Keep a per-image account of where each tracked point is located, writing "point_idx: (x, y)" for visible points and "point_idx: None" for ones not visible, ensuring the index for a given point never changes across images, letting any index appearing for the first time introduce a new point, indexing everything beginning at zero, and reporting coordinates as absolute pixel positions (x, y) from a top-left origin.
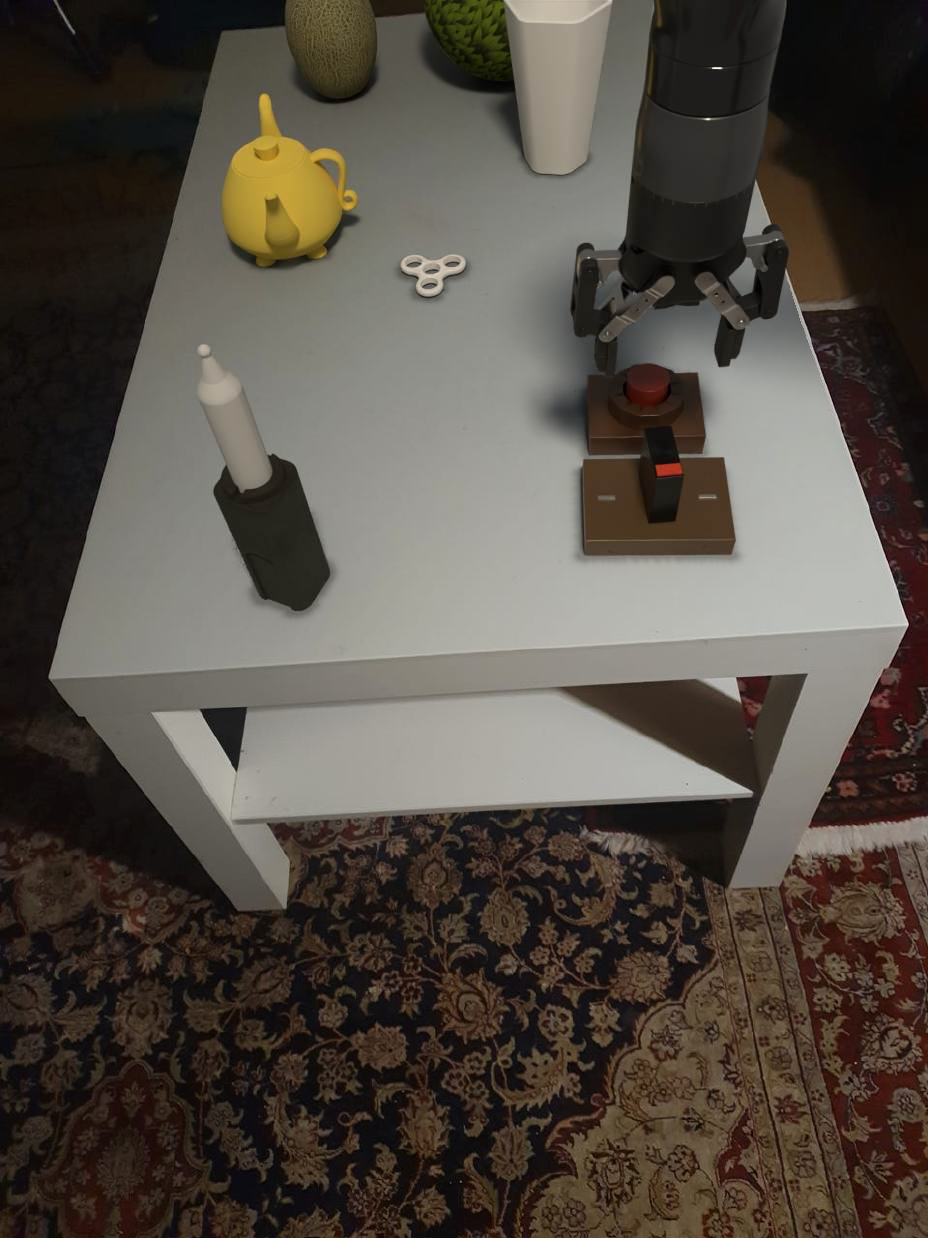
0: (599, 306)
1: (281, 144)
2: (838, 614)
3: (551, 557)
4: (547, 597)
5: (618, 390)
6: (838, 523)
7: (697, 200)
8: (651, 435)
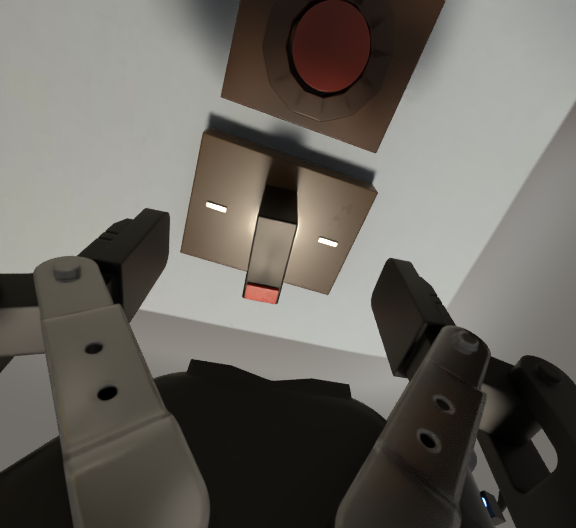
0: (35, 284)
1: None
2: (375, 349)
3: None
4: None
5: (280, 34)
6: (439, 280)
7: None
8: (262, 232)
